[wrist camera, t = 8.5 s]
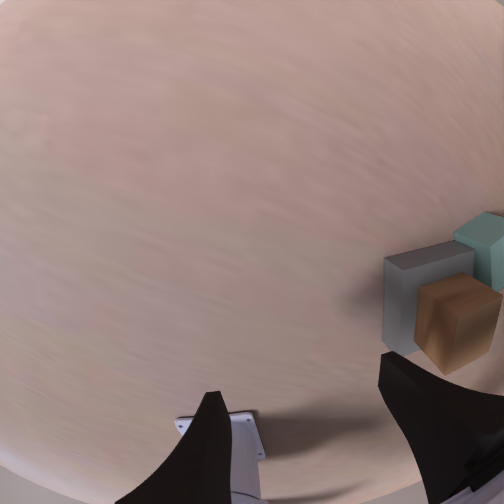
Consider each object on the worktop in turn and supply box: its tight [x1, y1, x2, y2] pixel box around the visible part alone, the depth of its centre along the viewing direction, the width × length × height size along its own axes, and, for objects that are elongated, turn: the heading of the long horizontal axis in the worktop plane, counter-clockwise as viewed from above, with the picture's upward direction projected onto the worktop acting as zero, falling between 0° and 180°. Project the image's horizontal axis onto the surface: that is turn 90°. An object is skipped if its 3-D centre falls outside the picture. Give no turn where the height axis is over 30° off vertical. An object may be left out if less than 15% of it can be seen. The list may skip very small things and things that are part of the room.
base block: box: [382, 241, 475, 356], centre depth 20 cm, size 8×8×3 cm
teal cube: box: [454, 212, 504, 292], centre depth 19 cm, size 5×5×5 cm
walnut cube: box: [413, 272, 503, 375], centre depth 17 cm, size 5×5×5 cm
